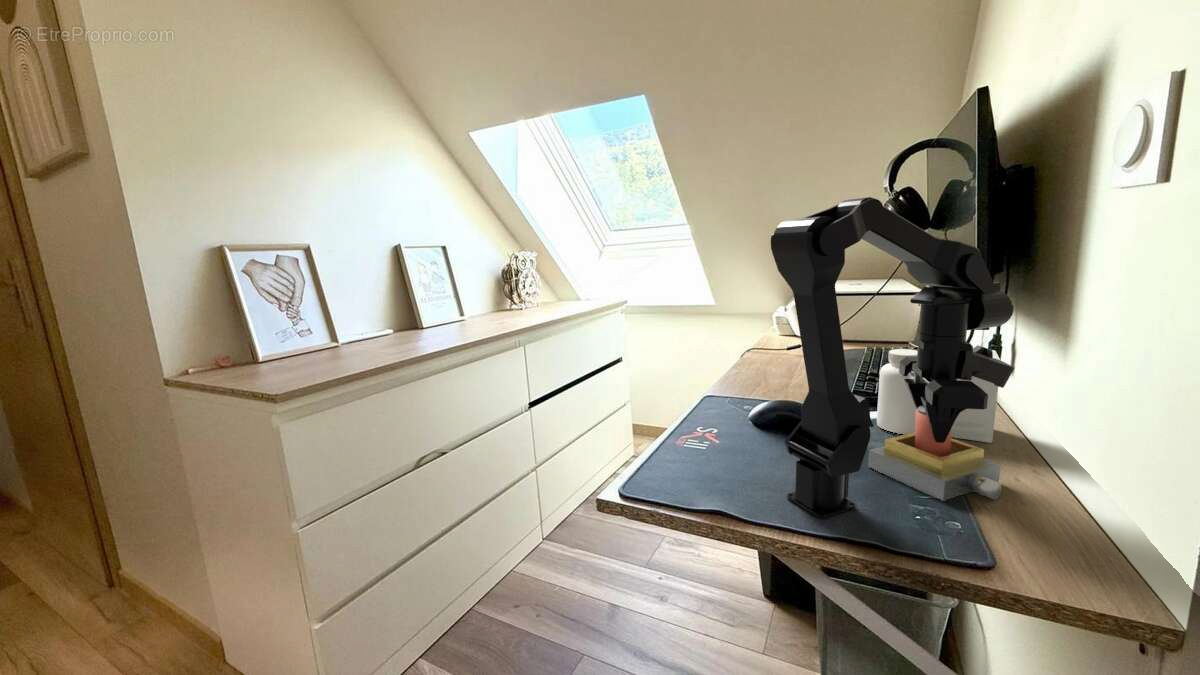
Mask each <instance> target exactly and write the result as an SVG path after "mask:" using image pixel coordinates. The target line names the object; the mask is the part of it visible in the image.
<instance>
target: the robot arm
mask: <svg viewBox="0 0 1200 675" xmlns="http://www.w3.org/2000/svg"><path fill="white" fill-rule="evenodd" d="M861 240H863V241H865V242H866V243H868V244H870V245H872V246H873V247H875V248H876V249H877V248H878V249H879V250H880V251H883V252H885V253H886V254H888V255H891V257H893V258H896V259H897V260H899V261H901V262H902V263H903V264H905V266H906V272H907V273H908V274H909V275H910V276H911V277H912V278H914V280H916V281H917V282H918V283H919V284H921V285H924V286H923V287H922V288H921V290H920V291H918V292H917V293H916V294H914V295H913V296H912V297H911V298H910V303H911V304H917V305H920V311H919V312H920V313H919V326H918V328H919V329H918V336H913V337H914V340H913V343H914V345H915V346H917V350H916V351H917V357H905V358H904V359H903V360H901V361H900V366H899V373H900V374H901V375H902V376H908V374H909V373H911V376H910V379H904V381H905V383H906V385H907V388H908V390H909V392H910V395H911V397H912V400H913V402H914V405H915V407H916V409H918V407H920V406H924V409H925V412H926V415H927V418H928V421H929V424H930V428H931V431H932V434H933V436H934V439H935V441H936V442H938V443H944V442H945V440H946V438H947V436H948V434H949V432H950V430H951V428H952V426H953V424H954V422H955V420H956V418H957V417H958V415H959V413H960V412H962V411H964V410H966V409H983V410H984V409H987V402H988V394H987V393H986V392H984V391H983V390H982V389H981V388H980V387H979V386H977V385H976V384H974V383H973V382H971V381H959V380H957V379H961V380H972V376H974V377H976V378H979V379H982V380H985V381H988V382H991V383H994V385H995V386H998V388H1002V389H1003V388H1005V386H1006V384H1007V383H1008V381H1009V379H1010V378H1011V376H1012V374H1013V372H1014V371H1015V369H1016V368H1015V367H1014V366H1012V365H1010V364H1008V363H1007V362H1005V361H1002V360H1001V359H1000V360H1001V361H1000V360H998V359H996V358H993V352H992V350H993V349H992V350H991V349H989V348H987V347H984V346H982V345H979V344H977V345H976V346H973V345H972V344H971V343H970V342H968V341H967V331H973V330H982V329H988V328H994V327H1000V326H1002V325H1005V324H1006V323H1008V321H1009V320H1011V318H1012V316H1013V313H1014V308H1015V307H1014V305H1013V303H1012V300H1011V298H1010V296H1008V294H1006V293H1005V292H1004V291H1002V290H1001V285H1002V283H1001V282H997V281H996V282H994V280H993V278H992V276H991V274H990V273H991V272H990V271H989V269H988V267H987V265H986V262H985V260H984V257H983V253H982V251H981V250H980V249H979V248H978V247H977V246H974V245H971V244H968V243H966V242H962V241H957V240H951V239H946V238H945V239H944V238H940V237H936V236H934V235H932V234H931V233H930V232H927V231H926V230H924V229H923V228H921V227H919V226H917V225H916V224H914V223H912V222H910V221H909V220H907V219H905V218H904V217H902V216H901V215H899V214H898V213H896V212H894V211H892V210H890V209H889V208H887V207H886V206H885V205H883V203H882V201H881V200H879V199H877V198H874V197H871V196H869V197H862V198H861V197H860V198H852V199H845V200H843V201H841V202H839V203H837V204H836V205H834V206H831V207H829V208H826V209H823V210H821V211H818V212H815V213H813V214H810V215H807V216H805V217H801V218H800V217H799V218H790V219H786V220H783V221H781V222H780V224H779V225H778V226H776V229H775V230H774V232H773V233H772V234H771V237H770V251H771V253H772V256H773V259H774V262H775V265H776V269H777V271H778V273H779V274H780V275H781V277H782V278H783V280H784V281H785V282H786V284H787V286H789V287H790V289H791V291H792V294H793V300H794V304H795V310H796V318H797V324H798V330H799V337H800V342H801V348H802V356H803V360H804V361H803V362H804V367H805V368H804V369H805V372H806V373H805V374H806V380H807V387H808V392H807V394H806V396H805V398H804V399H803V402H802V404H801V407H800V413H801V414H800V418H801V420H800V421H799V422H798V423H797V425H796V426H795V427H794V428H793V430H792V431H791V433H790V434H789V436H788V437H787V438H786V439H785V440H784V445H785V449H786V452H787V454H789V455H792V456H794V457H796V458H797V459H799V460H797V461H796V462H795V489H794V491H793V492H789V493H787V494H786V498H787V499H788V500H789V501H791V502H793V503H794V504H796V505H797V506H799V507H800V508H802V509H804V510H806V512H809V513H811V514H812V515H814V516H815V517H817V518H819V519H825V518H829V517H831V516H835V515H838V514H841V513H844V512H848V511H851V510H854V509H856V503H855V502H854V501H851V500H850V499H848V496H849V476H850V474H852V473H857V472H859V471H860V470H861V466H862V464H863V461H864V457H865V455H866V452H867V449H868V446H869V444H870V441H871V428H874V423H873V421H872V419H871V404H870V401H869V399H868V397H867V398H866V397H864V396H861V395H857V394H854V393H853V391H852V390H851V389H850V388H851V387H850V384H849V378H848V371H847V363H846V356H845V349H844V342H843V334H842V327H841V320H840V319H841V318H840V313H839V305H838V299H837V291H836V284H837V281H838V280H839V277H840V274H841V272H842V270H843V268H844V266H845V263H846V249H848V248H850V247H852V246H854V245H856V244H857V243H859V242H860V241H861ZM828 450H829V451H828Z"/></svg>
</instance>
